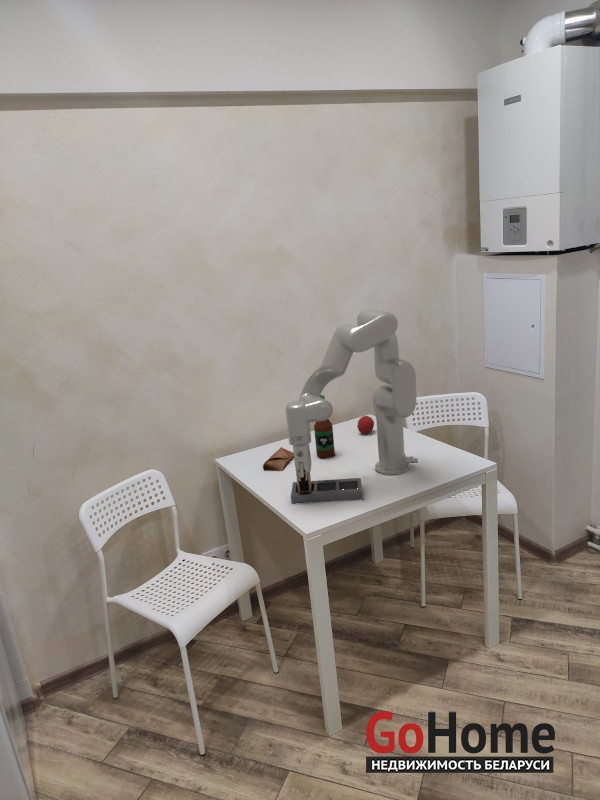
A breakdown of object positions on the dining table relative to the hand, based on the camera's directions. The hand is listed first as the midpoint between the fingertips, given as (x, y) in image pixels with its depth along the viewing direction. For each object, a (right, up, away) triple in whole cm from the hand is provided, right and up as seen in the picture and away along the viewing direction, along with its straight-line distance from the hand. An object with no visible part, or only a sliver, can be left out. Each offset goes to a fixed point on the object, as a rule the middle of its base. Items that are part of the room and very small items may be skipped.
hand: (304, 487), depth 211 cm
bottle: (+9, +8, +35) cm, 37 cm away
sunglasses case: (-9, +5, +33) cm, 34 cm away
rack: (+8, -3, 0) cm, 8 cm away
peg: (0, -1, 0) cm, 1 cm away
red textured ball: (+27, +15, +55) cm, 64 cm away
